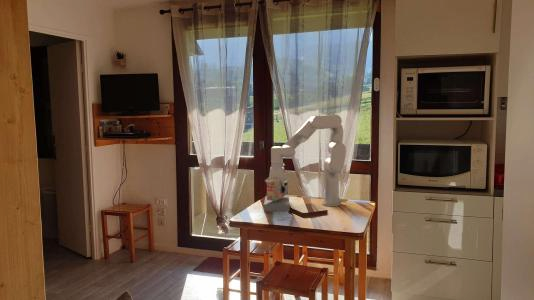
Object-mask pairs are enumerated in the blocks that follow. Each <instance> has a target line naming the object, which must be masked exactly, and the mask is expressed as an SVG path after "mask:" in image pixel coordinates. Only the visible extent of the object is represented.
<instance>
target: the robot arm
mask: <svg viewBox="0 0 534 300" xmlns="http://www.w3.org/2000/svg"><path fill="white" fill-rule="evenodd" d="M342 123H343V119H342V118H341V116H340V115H339V114H335V113H334V114H333V113H332V114H331V113H330V114H328V115H312V116H311V117H309V118H308V119H307V121H306V122H304V124H303V125H302V126H301V127H300V128H299V129H298V130H297V131H296V132H295V133H294V134H293V135H292V136H291V137H290V138H289V139H288V140H287V141H286V142H285V143H284V144H283V145H282V146H279V145H278V146H272V147H271V148H270V156H271V157H270V163H271V165H270V168H269V175H268V177H267V178H266V179H265V180H264V182H265V184H267V181H269V180H271V179H278V180H281V183H282V185H283V187H282V193H284V191H285V186H286V185H287V184H289V183H290V180H289V179H288V177H286V172H285V166H286V163H284V162H283V161H284V160H283V159H291V158H293V157H294V156H295V155H296V149H297V147H299V146H300V145H301V144H302V143H305V142H307V141H308V140H309V139H311V136H313V134H315V132H317V130H325V129H329V131H330V134H329V140H328V146H327V151H328V154H330V157H327V158H326V159H325V160H324V162H323V173H324V174H323V175H324V182H323V183H324V190H323V193H324V194H323V196H324V198H323V199H324V200H323V201H322V202H321V205H323V206H326V207H338V206H341V205H342V203H346V199H345V198H340V196H339V195H340V192H339V191H340V184H339V183H340V176H339V175H340V173H341V172H342V171H343V169H344V166H345V161H346V157H347V156H346V155H347V147H346V145H345V143H343V140H344V128H343V125H342ZM285 181H287V182H286V183H284V182H285Z"/></svg>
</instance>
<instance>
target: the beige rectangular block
mask: <svg viewBox="0 0 534 300" xmlns="http://www.w3.org/2000/svg"><path fill="white" fill-rule="evenodd" d="M286 182H287V181H286V180H285V182H284V183H286ZM288 184H289V183H288ZM288 184H287V185H286V186H285V191H284V193H282V187H283V185H282V183H281V180H278V179H271V180H268V181H267V183H266V196H267V200H273V201H276V200H278V199H280V198H282V197H283V196H288V194H289V190H288V188H289V187H288Z"/></svg>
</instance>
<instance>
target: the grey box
mask: <svg viewBox="0 0 534 300" xmlns="http://www.w3.org/2000/svg"><path fill="white" fill-rule="evenodd" d="M290 209H291V208H290V195H285V196H283V197H282V198H280V199H278V200H276V201H273V200H267V195H265V198H264V202H263V212H278V213H279V212H281V213H282V212H283V213H284V212H286V211H290ZM290 212H291V211H290Z"/></svg>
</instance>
